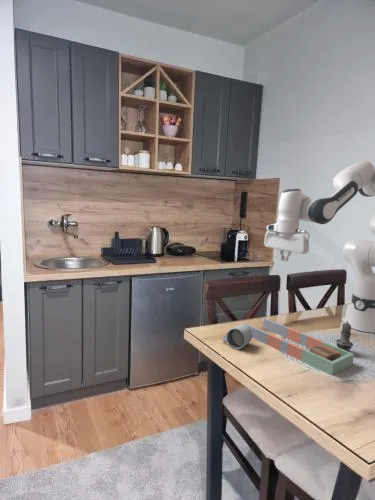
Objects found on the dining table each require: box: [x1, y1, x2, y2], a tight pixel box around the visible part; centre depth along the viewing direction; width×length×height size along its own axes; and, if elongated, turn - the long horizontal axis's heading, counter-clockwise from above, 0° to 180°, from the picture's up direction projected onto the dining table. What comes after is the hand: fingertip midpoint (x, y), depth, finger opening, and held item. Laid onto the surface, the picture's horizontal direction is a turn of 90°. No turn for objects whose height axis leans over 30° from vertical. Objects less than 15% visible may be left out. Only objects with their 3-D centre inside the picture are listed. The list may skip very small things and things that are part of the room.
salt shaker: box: [335, 321, 354, 352], centre depth 127 cm, size 6×6×12 cm
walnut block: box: [308, 344, 341, 361], centre depth 118 cm, size 7×7×5 cm
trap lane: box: [243, 318, 355, 376], centre depth 129 cm, size 13×38×4 cm, turn 38°
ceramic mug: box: [221, 324, 253, 350], centre depth 128 cm, size 11×8×8 cm
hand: (283, 260), depth 145 cm, fingers closed
